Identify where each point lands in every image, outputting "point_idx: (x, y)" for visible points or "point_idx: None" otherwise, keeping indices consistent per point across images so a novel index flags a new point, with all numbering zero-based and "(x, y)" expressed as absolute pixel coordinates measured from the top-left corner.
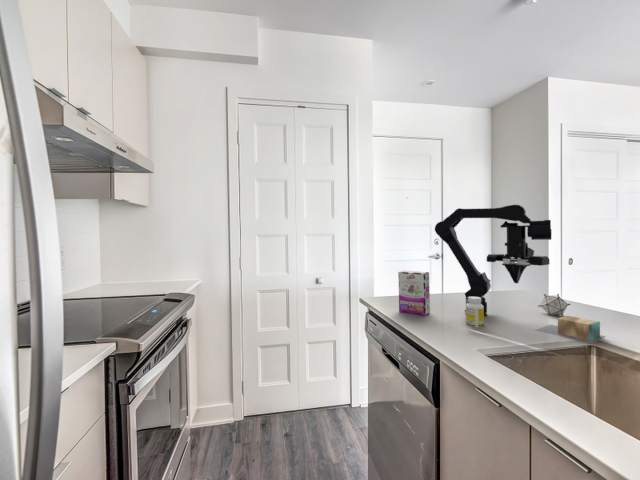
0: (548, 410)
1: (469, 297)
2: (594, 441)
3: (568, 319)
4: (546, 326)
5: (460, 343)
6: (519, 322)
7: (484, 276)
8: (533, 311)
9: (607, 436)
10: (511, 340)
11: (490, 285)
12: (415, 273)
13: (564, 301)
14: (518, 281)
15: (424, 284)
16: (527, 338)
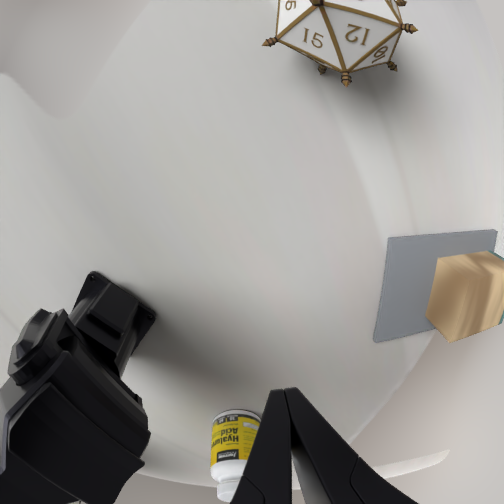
0: (414, 466)
1: (228, 501)
2: (434, 461)
3: (470, 324)
4: (390, 280)
5: (292, 473)
6: (293, 289)
7: (80, 474)
8: (215, 29)
9: (441, 454)
10: (349, 421)
11: (71, 368)
12: None
13: None
14: (305, 401)
15: (80, 502)
16: (371, 391)
